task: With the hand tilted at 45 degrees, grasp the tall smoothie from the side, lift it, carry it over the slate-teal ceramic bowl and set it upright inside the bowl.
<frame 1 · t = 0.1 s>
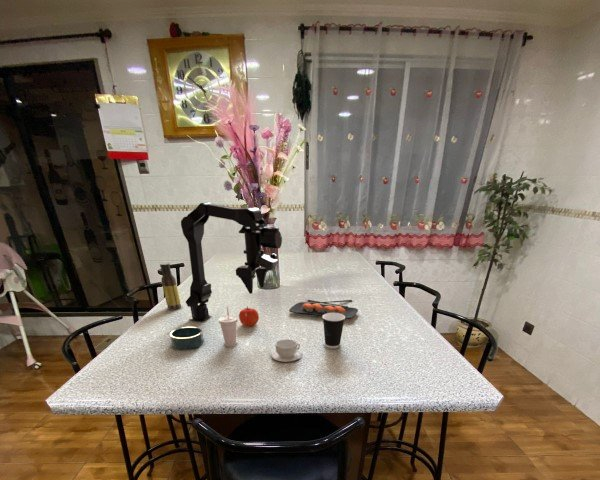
hand: (256, 290, 138), 15 cm above the table, tool pointing down, fingers open, 9 cm apart
apple: (249, 325, 148), on the table
sauce bottle: (174, 308, 168), on the table
teacup: (286, 356, 122), on the table
dixie cup: (332, 346, 129), on the table
sushi plate: (328, 309, 165), on the table
bowl: (188, 344, 132), on the table
smoothie: (230, 345, 131), on the table
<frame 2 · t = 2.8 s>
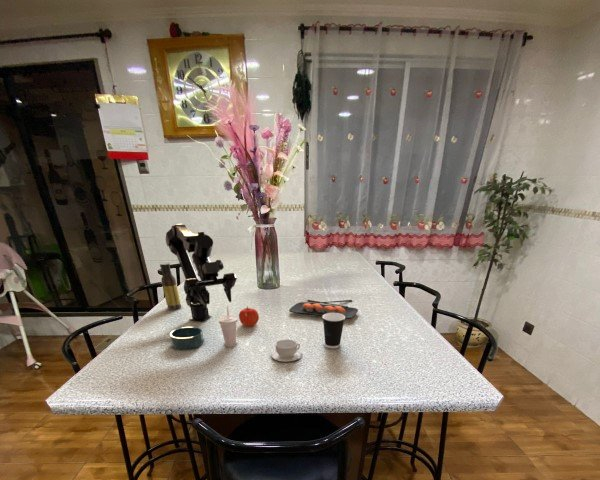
hand: (218, 303, 129), 13 cm above the table, tool tilted 45°, fingers open, 9 cm apart
nothing on the table moved.
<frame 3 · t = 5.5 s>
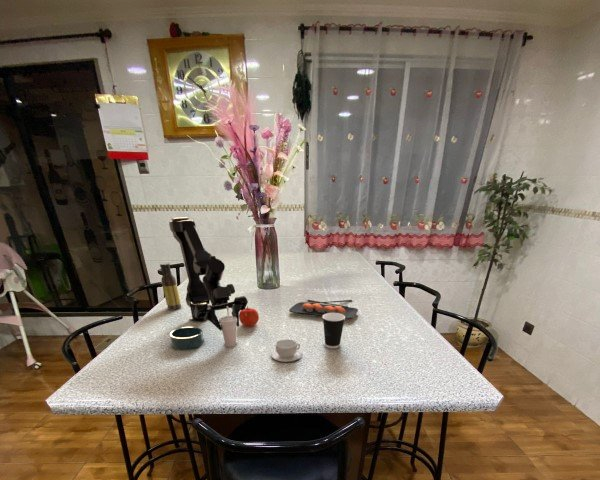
hand: (229, 328, 127), 7 cm above the table, tool tilted 45°, fingers closed on smoothie, 6 cm apart
smoothie: (230, 345, 131), on the table, touching gripper
everything else where it was.
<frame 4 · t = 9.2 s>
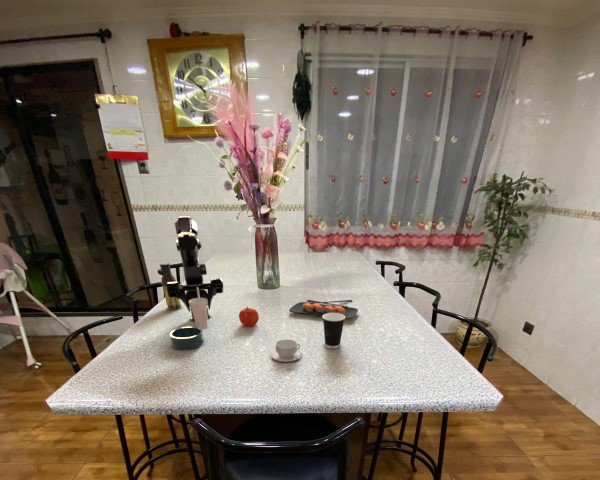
hand: (199, 310, 123), 13 cm above the table, tool tilted 45°, fingers closed on smoothie, 6 cm apart
smoothie: (202, 328, 127), point 7 cm above the table, touching gripper
everything else where it was.
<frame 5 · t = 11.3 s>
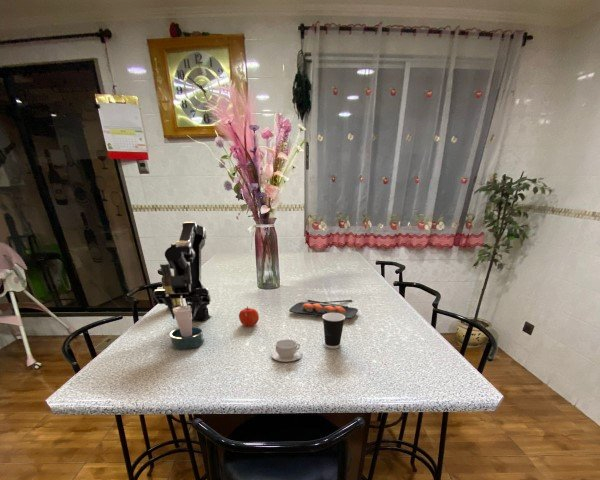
hand: (183, 318, 126), 10 cm above the table, tool tilted 45°, fingers closed on smoothie, 6 cm apart
smoothie: (186, 335, 130), point 3 cm above the table, touching gripper
everything else where it was.
when the fingers open (7 cm above the table, at t = 12.7 s): smoothie stays where it is, resting on bowl.
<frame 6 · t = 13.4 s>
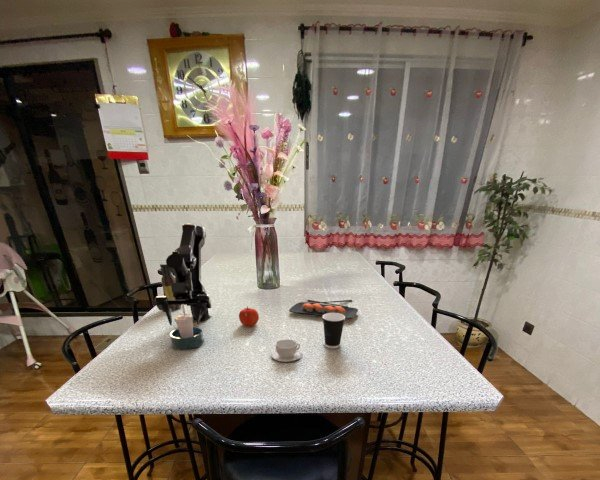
hand: (184, 324, 127), 8 cm above the table, tool tilted 45°, fingers open, 9 cm apart
smoothie: (188, 342, 132), resting on bowl
everything else where it was.
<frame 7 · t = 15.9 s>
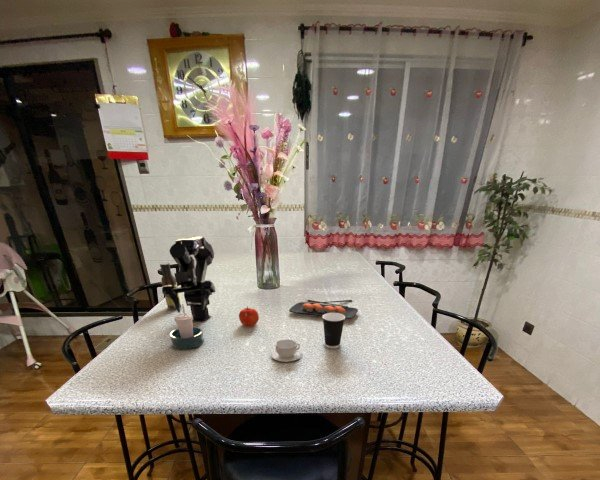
hand: (190, 310, 135), 9 cm above the table, tool tilted 40°, fingers open, 9 cm apart
nothing on the table moved.
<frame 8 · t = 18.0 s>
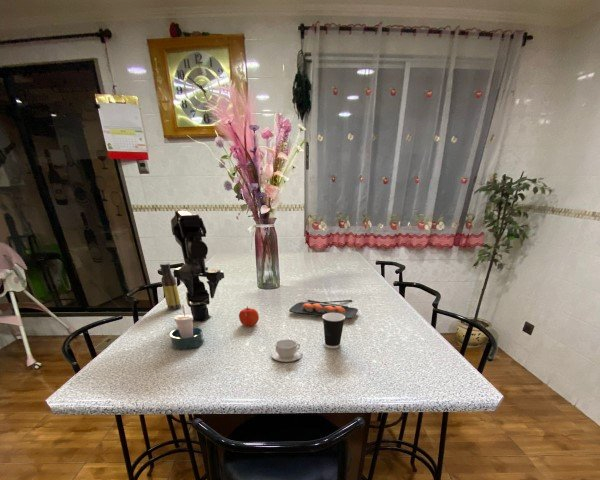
hand: (202, 297, 137), 13 cm above the table, tool pointing down, fingers open, 9 cm apart
nothing on the table moved.
at the end: smoothie 0.2 cm off-centre in the bowl, point 0.4 cm above the bowl's base; smoothie tilted 0°; the gripper is holding nothing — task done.
